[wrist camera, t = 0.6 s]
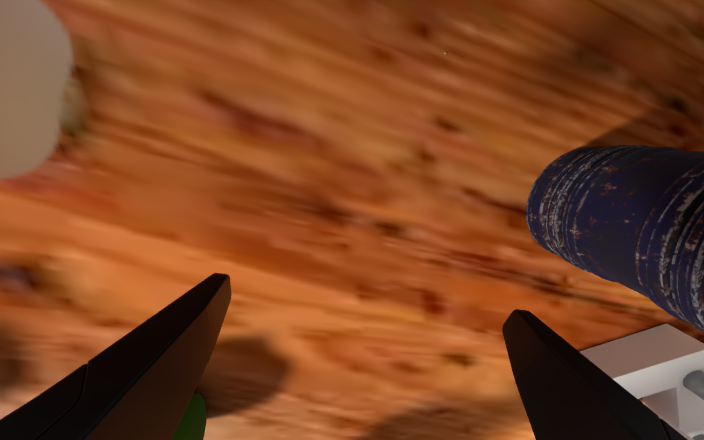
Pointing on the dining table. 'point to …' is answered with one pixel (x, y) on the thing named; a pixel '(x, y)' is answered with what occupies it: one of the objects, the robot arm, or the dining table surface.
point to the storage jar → (628, 220)
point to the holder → (659, 373)
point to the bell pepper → (192, 420)
